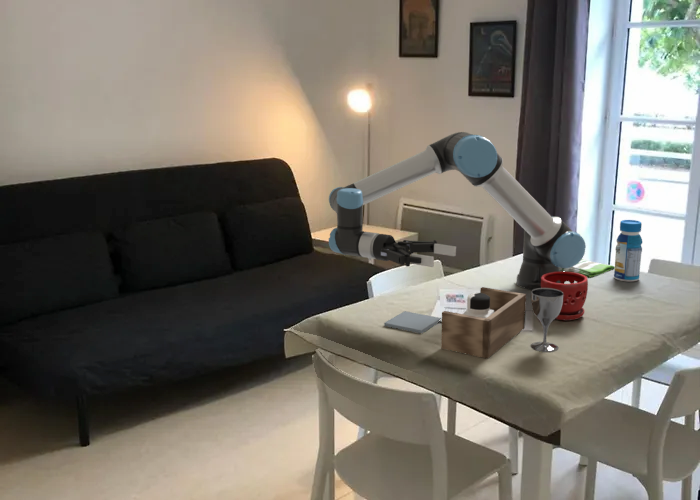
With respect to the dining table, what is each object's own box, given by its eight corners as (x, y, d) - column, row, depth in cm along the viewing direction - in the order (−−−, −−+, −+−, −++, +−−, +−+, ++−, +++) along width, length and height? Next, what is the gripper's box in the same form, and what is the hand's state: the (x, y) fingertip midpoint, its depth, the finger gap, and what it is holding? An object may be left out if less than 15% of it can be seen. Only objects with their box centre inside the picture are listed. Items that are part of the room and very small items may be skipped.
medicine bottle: (493, 334, 204) (495, 292, 201) (487, 343, 197) (488, 300, 194) (468, 330, 207) (469, 289, 204) (461, 339, 200) (462, 297, 197)
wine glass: (524, 342, 198) (527, 288, 194) (553, 340, 198) (557, 287, 195) (534, 353, 190) (537, 297, 186) (564, 351, 191) (568, 296, 187)
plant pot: (553, 305, 227) (556, 268, 224) (593, 315, 218) (596, 276, 215) (530, 316, 218) (532, 277, 215) (571, 326, 209) (573, 286, 206)
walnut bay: (441, 348, 194) (441, 312, 191) (481, 320, 215) (482, 287, 212) (487, 358, 187) (488, 321, 185) (524, 328, 208) (526, 294, 206)
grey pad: (384, 326, 211) (384, 322, 211) (404, 314, 221) (404, 311, 221) (421, 333, 205) (421, 330, 204) (441, 321, 214) (441, 318, 214)
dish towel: (559, 258, 283) (560, 249, 282) (615, 270, 266) (616, 260, 265) (533, 266, 272) (533, 257, 271) (589, 279, 255) (590, 269, 254)
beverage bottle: (636, 283, 248) (641, 225, 243) (610, 280, 252) (615, 222, 247) (641, 277, 255) (646, 220, 250) (616, 274, 259) (620, 218, 254)
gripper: (399, 250, 224) (463, 259, 213) (354, 268, 204) (422, 280, 193) (399, 226, 222) (464, 234, 211) (354, 242, 202) (423, 252, 191)
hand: (444, 256), depth 202 cm, fingers open, 13 cm apart
